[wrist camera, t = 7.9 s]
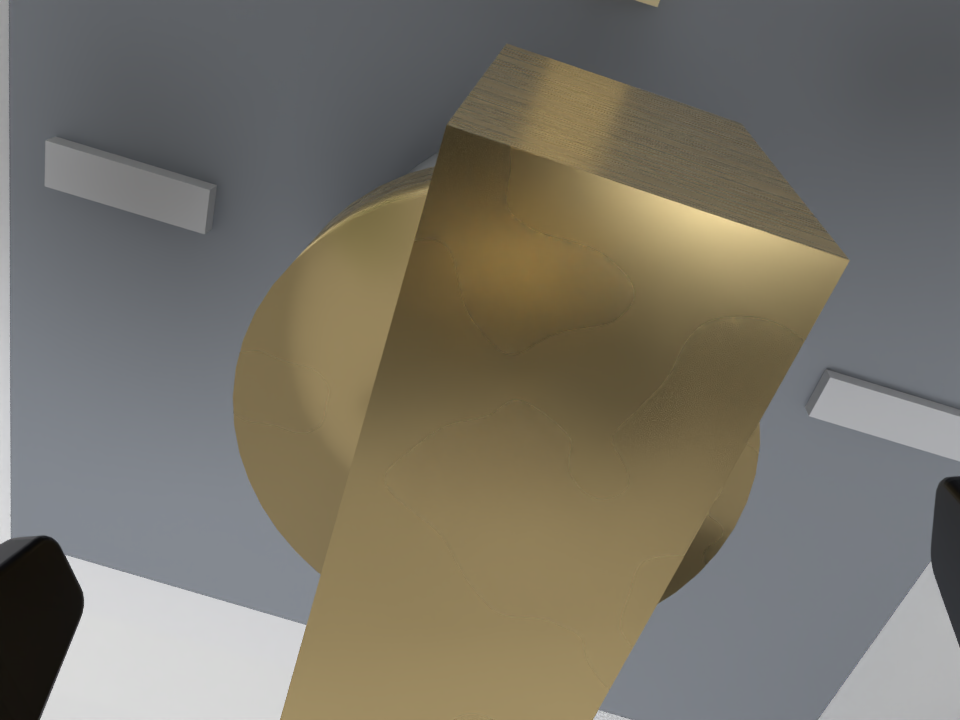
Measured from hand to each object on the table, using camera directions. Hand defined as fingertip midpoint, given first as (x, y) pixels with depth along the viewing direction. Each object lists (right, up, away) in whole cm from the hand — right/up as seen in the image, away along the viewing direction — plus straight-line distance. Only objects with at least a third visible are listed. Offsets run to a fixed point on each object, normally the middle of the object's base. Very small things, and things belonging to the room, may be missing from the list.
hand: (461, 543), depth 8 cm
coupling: (0, +1, +3) cm, 3 cm away
